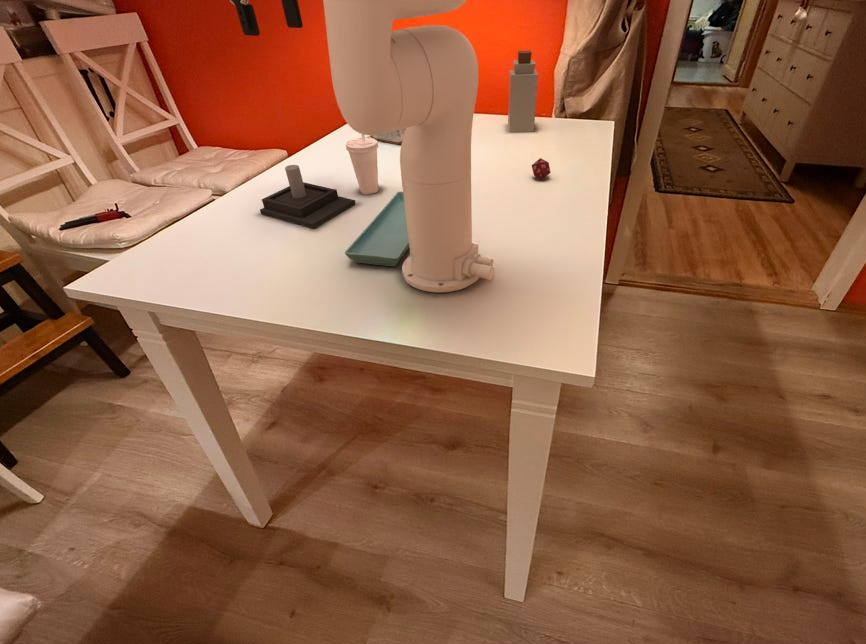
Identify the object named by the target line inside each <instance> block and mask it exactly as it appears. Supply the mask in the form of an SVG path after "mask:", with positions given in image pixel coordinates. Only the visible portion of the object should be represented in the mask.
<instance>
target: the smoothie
mask: <svg viewBox="0 0 866 644" xmlns="http://www.w3.org/2000/svg"><path fill="white" fill-rule="evenodd" d="M360 134H361V133H360ZM378 148H379V144H378V140H376V139H374V138H372V137H366V135H364V134H361V137H358V138H353V139H350V140H348V141H347V142H345V149H346V151H347V152H348V154H349V159H350V161H351V165H352V167H353V172H354V174H355V177H356V180H357V184H358V187H359V190H360V193H361V194H364V195H372V194H375V193H377V192H378V191H379V172H378V171H379V170H378V168H379V167H378Z"/></svg>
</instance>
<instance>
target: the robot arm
mask: <svg viewBox="0 0 866 644" xmlns="http://www.w3.org/2000/svg"><path fill="white" fill-rule="evenodd" d="M249 1H250V0H229V2H230V4H232V5H233V6H234V5H235V9H236V13H237V17H238V19H239V23H240V26H241V29H242V32H243V34H244V35H245V36H250V37H251V36H253V37H257V36H260V34H261V32H260V27H259V25H258V20H257V16H256V13H255V8H254V6H253V4H249ZM467 1H468V0H322V2H323V12H324V21H325V30H326V39H327V48H328V59H329V66H330V75H331V82H332V87H333V92H334V96H335V97H334V98H335V101H336V103H337V107H338V109H339V112H340V114H341V116H342V118H343V120H344V121H345V122H346V123H347V125H348V126H349V127H350V128H351V129H352V130H353V131H355V132H357V133H358V134H364V136H370V135H379V134H385V133H389V132H393V131H397V130H401V129H404V128H406V130H405V133H404V136H403V140H402V144H400V151H399V167H400V177H401V185H402V192H403V195H404V204H405V213H406V221H407V230H408V239H409V248H408V249H409V256H407V258H405V259H404V261H403V263H402V265H401V272H402V277H403V279H404V281H405V282H406V283H407V284H408V285H409V286H412V287H413V288H415V289H417V290H420V291H424V292H427V293H428V292H429V293H450V292H451V293H452V292H455V291H456V292H457V291H460V290H462V289H465V288H468V287H470V286H471V285H473V284H475V283H476V282H477V281H478V280H479V279H480V278H481V279H486V280H489V281H490V280H492V279H493V277H494V275H495V267H494V265H495V264H494V259H493V258H491V257H485V256H481V254H480V253H479V244H478V243H474V242H473V214H472V213H473V212H472V209H473V207H472V205H473V204H472V137H473V135H472V133H473V122H474V115H475V109H476V102H477V97H478V91H479V90H478V89H479V78H480V76H479V75H480V74H479V73H480V72H479V62H478V58H477V55H476V51H475V49H474V47H473V45H472V43H471V42H470V40H469V38H467V36H465V34H463V33H462V32H460V31H459V30H457V29H456V28H454V27H451V26H448V25H441V24H428V25H427V24H426V25H421V26H412V27H406V28H398V29H395V30H393V23H394V21H398V20H407V19H412V18H420V17H428V16H435V15H441V14H446V13H450V12H454V11H455V10H457V9H459V8H461V7H462V6H463V5H464V4H465V3H466V2H467ZM281 5H282V8H283V9H282V10H283V14H284V18H285V23H286V26H287V27H288V28H289V29H290V28H293V29H301V28H303V26H304V24H303V20H302V16H301V15H302V14H301V11H300V10H301V9H300V6H299V1H298V0H281Z"/></svg>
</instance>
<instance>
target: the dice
mask: <svg viewBox="0 0 866 644" xmlns="http://www.w3.org/2000/svg"><path fill="white" fill-rule="evenodd" d="M531 169H532V174H533V176H534V177H536V178H538V179H539V180H541V181H543V180H544V179H545V178H546V177H547V176H549V175H551V169H550V163H549V161H547V160H545V159H544V158H541V157H540V158H538V160H536V161H535V162H534V163H532V164H531Z"/></svg>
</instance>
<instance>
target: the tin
mask: <svg viewBox="0 0 866 644" xmlns="http://www.w3.org/2000/svg"><path fill="white" fill-rule="evenodd" d="M405 130H406V128H404V129H401V130H397V131H393V132H389V133H385V134H379V135H369V136H370V138H372V139H375V140H377V141H379V142H386V143H391V144H393V145H394V144H395V145H401V144H402V140H403V136H404V133H405Z"/></svg>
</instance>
